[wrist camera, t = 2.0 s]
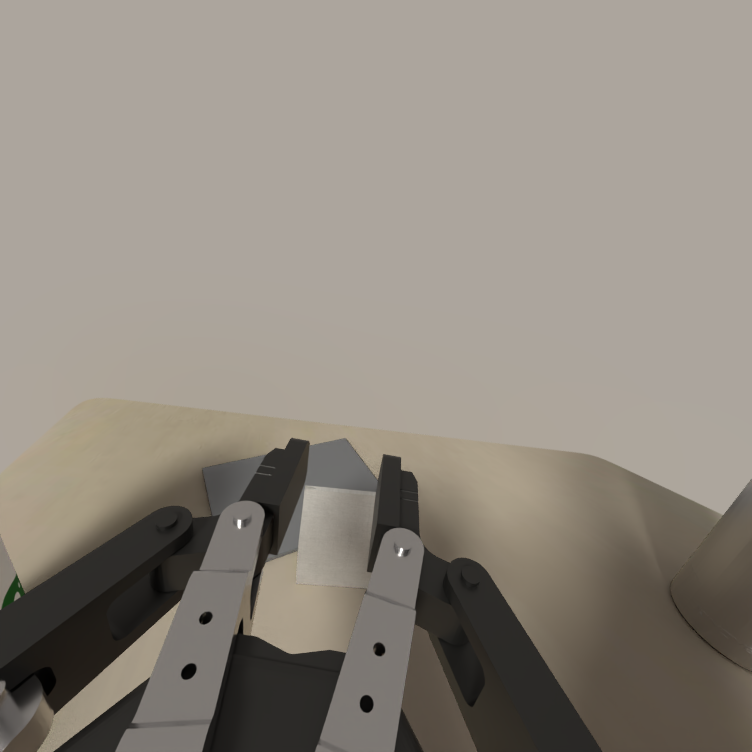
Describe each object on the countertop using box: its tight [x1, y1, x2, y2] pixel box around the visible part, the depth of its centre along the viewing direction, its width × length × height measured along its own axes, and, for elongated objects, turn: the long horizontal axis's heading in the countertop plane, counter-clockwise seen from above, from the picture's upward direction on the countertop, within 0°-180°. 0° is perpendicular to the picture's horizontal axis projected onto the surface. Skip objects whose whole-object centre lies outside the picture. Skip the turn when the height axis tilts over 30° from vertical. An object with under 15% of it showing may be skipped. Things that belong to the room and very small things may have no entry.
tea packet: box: [296, 485, 376, 589], centre depth 29 cm, size 4×7×10 cm, turn 91°
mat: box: [203, 438, 378, 562], centre depth 39 cm, size 18×14×1 cm
